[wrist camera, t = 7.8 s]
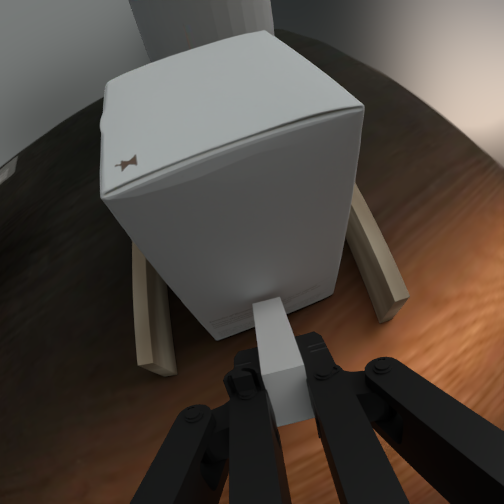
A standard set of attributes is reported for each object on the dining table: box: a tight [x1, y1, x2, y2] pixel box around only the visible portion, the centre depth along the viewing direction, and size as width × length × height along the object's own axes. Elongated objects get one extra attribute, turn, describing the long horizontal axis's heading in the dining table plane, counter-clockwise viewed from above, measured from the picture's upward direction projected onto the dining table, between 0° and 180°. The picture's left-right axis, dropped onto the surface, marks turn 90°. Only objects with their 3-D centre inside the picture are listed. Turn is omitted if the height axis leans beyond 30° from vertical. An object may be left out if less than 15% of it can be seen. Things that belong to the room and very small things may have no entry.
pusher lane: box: [132, 184, 410, 377], centre depth 21 cm, size 16×18×8 cm
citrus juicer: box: [129, 0, 274, 63], centre depth 29 cm, size 16×17×20 cm
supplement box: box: [100, 30, 365, 340], centre depth 17 cm, size 9×9×15 cm
